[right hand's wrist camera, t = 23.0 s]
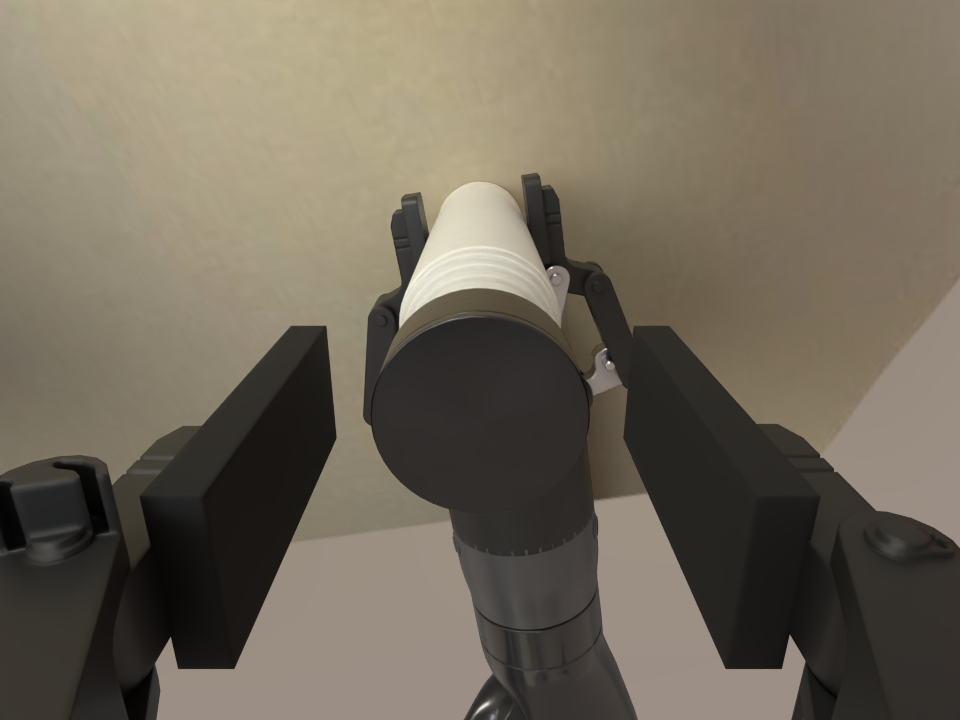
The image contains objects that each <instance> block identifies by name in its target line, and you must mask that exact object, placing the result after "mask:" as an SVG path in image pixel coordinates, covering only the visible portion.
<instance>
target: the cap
mask: <svg viewBox="0 0 960 720" xmlns="http://www.w3.org/2000/svg"><path fill="white" fill-rule="evenodd" d="M370 414H371V427H372V432H373V437H374V440H375V443H376V446H377V449H378V451H379V453H380V455H381V457H382V459H383V461H384V462H385V464H386V465H387V467H388V468H389V470H390V471H391V472H392V474H393V475H394V476H395V477H396V478H397V479H398V480H399V481H400V482H401V483H402V484H403V485H404V486H406V487H407V488H408V489H409V490H410V491H412V492H413V493H415V494H416V495H418V496H419V497H421V498H423V499H425V500H427V501H429V502H431V503H433V504H436V505H438V506H441V507H444V508H447V509H451V510H455V511H460V512H469V513H491V512H500V511H505V510H509V509H513V508H516V507H519V506H522V505H525V504H527V503H529V502H531V501H534V500H536V499H538V498H539V497H541V496H542V495H544V494H546V493H547V492H549V491H550V490H551V489H552V488H554V487H555V486H556V485H557V484H558V483H559V482H560V481H561V480H562V479H563V478H564V477H565V476H566V475H567V474H568V473H569V471H570V470H571V469H572V467H573V466H574V465H575V463H576V461H577V459H578V458H579V456H580V454H581V452H582V450H583V447H584V444H585V442H586V438H587V434H588V430H589V421H590V407H589V399H588V394H587V389H586V386H585V384H584V381H583V378H582V376H581V373H580V371H579V368H578V365H577V363H576V360H575V358H574V355H573V353H572V350H571V347H570V345H569V342H568V340H567V339H566V337H565V335H564V333H563V331H562V330H561V329H560V327H559V326H558V325H557V323H556V322H555V321H554V320H553V319H552V318H551V317H550V316H549V315H548V314H547V313H546V312H545V311H544V310H542V309H541V308H540V307H539V306H537V305H536V304H534V303H532V302H531V301H529V300H527V299H525V298H523V297H521V296H518V295H516V294H513V293H510V292H506V291H502V290H496V289H489V288H472V289H463V290H458V291H454V292H450V293H447V294H445V295H442V296H440V297H437V298H435V299H433V300H432V301H430V302H428V303H426V304H425V305H423V306H422V307H421V308H419V309H418V310H417V311H415V312H414V313H413V314H412V315H411V316H410V317H409V318H408V319H407V320H406V321H405V322H404V324H403V325H402V326H401V328H400V329H399V330H398V332H397V334H396V336H395V337H394V339H393V341H392V343H391V346H390V348H389V351H388V354H387V356H386V359H385V361H384V364H383V366H382V369H381V372H380V374H379V377H378V379H377V382H376V385H375V387H374V392H373V396H372V400H371V411H370Z"/></svg>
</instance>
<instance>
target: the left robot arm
mask: <svg viewBox="0 0 960 720" xmlns="http://www.w3.org/2000/svg"><path fill="white" fill-rule="evenodd" d="M521 179H522V187H523V195H524V203H525V211H526V219H527V226H528V230H529V232H530V235H531V237H532V240H533V242H534V244H535V247H536V249H537V251H538V254H539V256H540V259H541V261H542V263H543V266H544V268H545V271H546V273H547V275H548V278H549V280H550V282H551V285H552V287H553V290H554V292H555V294H556V297H557V300H558V303H559V307H560V314H561V325H562V314H563V309H564V305H565V300H566V296H567V293H572V294H577V295H582V296H584V297H585V299H586V302H587V304H588V307H589V309H590V311H591V314H592V316H593V319H594V321H595V324H596V326H597V329H598V331H599V334H600V336H601V339H602V341H603V342H602V343H600V344H598V345H596V346H595V347H594V349H593V351H592V360H593V363H592V367H591V368H590V370H589V371H588V372H586V373H583V372H582V371H581V370H580V369H579V371H580V373H581V376H582V378H583V381H584V384H585V386H586V389H587V394H588V399H589V407H591V405H592V401H593V396H596V395H598V394H601V393H603V392H606V391H608V390H611V389H613V388H616V387H618V386H621V385H623V386H624V387H625V388H627V389H628V383H629V372H630V361H631V350H632V339H633V338H632V335H631V332H630V330H629V327H628V325H627V322H626V319H625V317H624V314H623V312H622V309H621V306H620V304H619V301H618V299H617V296H616V293H615V291H614V288H613V286H612V283H611V281H610V279H609V278H608V276H607V275H606V274H605V273H603V270H602V269H601V267H600V266H599V265H598V264H597V263H595V262H585V263H582V262H577V261H573V260H570V259H568V258H567V257H566V256H565V251H564V242H563V232H562V224H561V214H560V205H559V199H558V197H557V195H556V193H555V191H554V189H553V188H552V187H551V186H550V185H545V186H541V180H540V176H539V175H538V174H537V173H533V174H527V175H521ZM401 204H402V209H399V210H396V211H395V212H394V214H393V216H392V222H391V231H392V236H393V240H394V245H395V249H396V255H397V260H398V265H399V269H400V274H401V279H402V285H401V286H400V287H399V288H397V289H395V290H394V291H392V292H390V293H387V294H383V295H381V296H380V297H379V298H378V300H377V301H376V303H375V305H374V307H373V308H372V310H371V312H370V314H369V316H368V330H367V350H366V369H365V389H364V409H363V417H364V420H365V421H366V422H367V423H368V424H369V425H371V414H370V411H371V400H372V396H373V392H374V387H375V385H376V382H377V379H378V377H379V374H380V372H381V369H382V366H383V364H384V361H385V359H386V356H387V354H388V351H389V348H390V346H391V343H392V341H393V339H394V337H395V336H396V334H397V332H398V330H399V315H400V309H401V304H402V301H403V298H404V295H405V292H406V290H407V288H408V285H409V283H410V280H411V278H412V276H413V273H414V271H415V269H416V266H417V264H418V261H419V259H420V257H421V254H422V252H423V249H424V247H425V245H426V242H427V240H428V237H429V232H428V227H427V222H426V216H425V211H424V206H423V200H422V196H421V193H420V192H419V193H413V194H407V195H404V196H403V197H402V199H401ZM449 512H450V517H451V522H452V526H453V531H454V532H453V542H454V546H455V549H456V552H457V553H458V555H459V560H460V564H461V568H462V571H463V574H464V577H465V579H466V582H467V584H468V587H469V589H470V592H471V596H472V601H473V606H474V611H475V616H476V621H477V625H478V630H479V635H480V640H481V644H482V648H483V652H484V655H485V658H486V660H487V662H488V664H489V666H490V668H491V670H492V672H493V674H492V675H491V676H490V678H489V679H488V680H487V681H486V683H485V684H484V685H483V687H482V689H481V690H480V692H479V693H478V695H477V697H476V699H475V700H474V702H473V704H472V706H471V708H470V709H469V711H468V713H467V715H466V717H465V719H464V720H638V719H637V716H636V713H635V710H634V707H633V704H632V702H631V699H630V696H629V694H628V691H627V689H626V686H625V684H624V681H623V679H622V676H621V674H620V671H619V668H618V666H617V663H616V661H615V659H614V657H613V655H612V653H611V651H610V649H609V647H608V645H607V642H606V640H605V638H604V635H603V631H602V618H601V608H600V599H599V590H598V581H597V563H598V539H597V535H598V519H597V516H596V514H595V511H594V501H593V492H592V483H591V474H590V465H589V456H588V446H587V438H586V442H585V444H584V447H583V450H582V452H581V454H580V456H579V458H578V459H577V461H576V463H575V465H574V466H573V467H572V469H571V470H570V471H569V473H568V474H567V475H566V476H565V477H564V478H563V479H562V480H561V481H560V482H559V483H558V484H557V485H556V486H555V487H554V488H552V489H551V490H550V491H549V492H547V493H546V494H544V495H542V496H541V497H539V498H538V499H536V500H534V501H531V502H529V503H527V504H525V505H522V506H519V507H516V508H513V509H509V510H505V511H500V512H491V513H469V512H460V511H455V510H451V509H449Z"/></svg>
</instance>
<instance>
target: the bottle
mask: <svg viewBox="0 0 960 720" xmlns="http://www.w3.org/2000/svg"><path fill="white" fill-rule="evenodd" d="M472 288H489V289H496V290H502V291H506V292H510V293H513V294H516V295H518V296H521V297H523V298H525V299H527V300H529V301H531V302H532V303H534V304H536V305H537V306H539V307H540V308H541V309H542V310H544V311H545V312H546V313H547V314H548V315H549V316H550V317H551V318H552V319H553V320H554V321H555V322H556V323H557V325H558V326H559V327H560V329H561V314H560V307H559V303H558V300H557V297H556V294H555V292H554V290H553V287H552V285H551V282H550V280H549V278H548V275H547V273H546V271H545V268H544V266H543V263H542V261H541V259H540V256H539V254H538V251H537V249H536V247H535V244H534V242H533V240H532V237H531V235H530V232H529V230H528V228H527V225H526V223H525V220H524V218H523V216H522V213H521V211H520V209H519V206H518V204H517V203H516V201H515V199H514V198H513V197H512V196H511V195H510V194H509V193H508V192H507V191H506V190H504V189H503V188H501V187H500V186H498V185H495V184H492V183H488V182H472V183H468V184H465V185H463V186H461V187H459V188H457V189H456V190H454V191H453V192H452V193H451V194H450V195H449V196H448V197H447V198H446V200H445V201H444V203H443V205H442V207H441V209H440V211H439V214H438V216H437V218H436V221H435V223H434V226H433V228H432V230H431V233H430V235H429V237H428V240H427V242H426V245H425V247H424V249H423V252H422V254H421V257H420V259H419V261H418V264H417V266H416V269H415V271H414V273H413V276H412V278H411V280H410V283H409V285H408V288H407V290H406V292H405V295H404V298H403V301H402V304H401V309H400V315H399V329H400V328H401V326H402V325H403V324H404V322H405V321H406V320H407V319H408V318H409V317H410V316H411V315H412V314H413V313H414V312H415V311H417V310H418V309H419V308H421V307H422V306H423V305H425V304H426V303H428V302H430V301H432V300H433V299H435V298H437V297H440V296H442V295H445V294H447V293H450V292H454V291H458V290H463V289H472Z"/></svg>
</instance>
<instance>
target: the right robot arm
mask: <svg viewBox="0 0 960 720" xmlns="http://www.w3.org/2000/svg"><path fill="white" fill-rule="evenodd" d="M335 440H336V427H335V416H334V405H333V394H332V383H331V372H330V361H329V350H328V339H327V329H326V326H291V327H290V328H289V329H288V330H287V331H286V332H285V333H284V335H283V336H282V337H281V338H280V339H279V340H278V341H277V342H276V343H275V345H274V346H273V347H272V348H271V349H270V350H269V351H268V352H267V354H266V355H265V356H264V357H263V358H262V359H261V360H260V361H259V363H258V364H257V365H256V366H255V367H254V368H253V369H252V370H251V372H250V373H249V374H248V375H247V376H246V377H245V378H244V379H243V380H242V382H241V383H240V384H239V385H238V386H237V387H236V388H235V389H234V391H233V392H232V393H231V394H230V395H229V396H228V397H227V398H226V400H225V401H224V402H223V403H222V404H221V405H220V406H219V407H218V408H217V410H216V411H215V412H214V413H213V414H212V415H211V416H210V417H209V419H208V420H207V421H206V422H205V423H204V424H203V425H202V426H182V427H180V428H179V429H177V430H175V431H173V432H171V433H170V434H168V435H166V436H164V437H162V438H160V439H159V440H157V441H156V442H155V443H154V444H153V445H152V446H151V447H150V448H149V449H148V450H147V451H146V452H145V453H144V454H143V455H142V456H141V457H140V458H141V459H140V460H137V461H136V462H135V463H134V464H133V465H132V466H131V467H130V468H129V469H128V470H127V474H123V475H122V476H121V477H120V478H119V479H118V480H117V481H116V482H115V483H114V484H113V485H112V484H111V480H110V476H109V472H108V468H107V464H106V463H104V462H103V461H101V460H100V459H98V458H95V457H88V456H82V455H75V456H60V457H54V458H49V459H45V460H40V461H36V462H32V463H29V464H26V465H24V466H21V467H18V468H15V469H13V470H10V471H8V472H6V473H4V474H2V475H0V720H156V718H157V711H158V704H159V696H160V686H159V679H158V674H157V670H156V666H155V662H156V660H157V659H158V657H159V655H160V654H161V652H162V650H163V649H164V647H165V645H166V644H167V642H168V640H169V638H170V637H171V639H172V644H173V648H174V652H175V657H176V661H177V666H178V669H234V668H235V666H236V664H237V662H238V659H239V657H240V655H241V653H242V650H243V648H244V646H245V643H246V641H247V639H248V637H249V634H250V632H251V630H252V628H253V626H254V623H255V621H256V619H257V616H258V614H259V612H260V610H261V607H262V605H263V603H264V601H265V598H266V596H267V594H268V592H269V589H270V587H271V585H272V583H273V580H274V578H275V576H276V574H277V571H278V569H279V567H280V565H281V562H282V560H283V558H284V556H285V553H286V551H287V549H288V547H289V544H290V542H291V540H292V538H293V535H294V533H295V531H296V528H297V526H298V524H299V522H300V519H301V517H302V515H303V513H304V510H305V508H306V506H307V504H308V501H309V499H310V497H311V495H312V492H313V490H314V488H315V486H316V483H317V481H318V479H319V477H320V474H321V472H322V470H323V468H324V465H325V463H326V461H327V459H328V456H329V454H330V452H331V449H332V447H333V445H334V443H335ZM624 440H625V443H626V445H627V447H628V449H629V452H630V454H631V456H632V459H633V461H634V463H635V465H636V468H637V470H638V472H639V474H640V477H641V479H642V481H643V483H644V486H645V488H646V490H647V492H648V495H649V497H650V499H651V501H652V504H653V506H654V508H655V510H656V513H657V515H658V517H659V519H660V522H661V524H662V526H663V528H664V531H665V533H666V535H667V537H668V540H669V542H670V544H671V547H672V549H673V551H674V553H675V555H676V558H677V560H678V562H679V565H680V567H681V569H682V571H683V574H684V576H685V578H686V580H687V583H688V585H689V587H690V589H691V592H692V594H693V596H694V598H695V601H696V603H697V605H698V607H699V610H700V612H701V614H702V616H703V619H704V621H705V623H706V626H707V628H708V630H709V632H710V635H711V637H712V639H713V641H714V644H715V646H716V648H717V650H718V653H719V655H720V657H721V659H722V662H723V664H724V666H725V668H726V669H782V666H783V661H784V657H785V652H786V648H787V644H788V639H789V635H791V637H792V639H793V640H794V642H795V644H796V645H797V647H798V649H799V650H800V652H801V654H802V655H803V657H804V659H805V660H806V662H805V666H804V670H803V674H802V678H801V683H800V687H799V691H798V695H797V699H796V703H795V707H794V711H793V715H792V720H960V548H959V547H958V546H957V545H956V543H955V542H954V541H953V540H952V539H950V538H949V537H947V536H945V535H944V534H942V533H941V532H939V531H938V530H936V529H935V528H933V527H931V526H929V525H926V524H924V523H922V522H919V521H917V520H915V519H912V518H909V517H905V516H901V515H897V514H894V513H890V512H882V511H876V510H875V509H874V508H873V507H872V506H871V505H870V504H869V503H868V502H867V501H866V500H865V499H864V498H863V497H862V496H861V495H860V494H859V493H858V492H857V491H856V490H855V489H854V488H853V487H852V486H851V485H850V484H849V483H848V482H847V481H846V480H845V479H844V478H843V477H842V476H841V475H840V474H839V473H838V472H834V468H833V467H832V466H831V465H830V464H829V463H828V462H827V461H826V460H825V459H824V458H820V454H819V453H818V452H817V451H816V450H815V449H814V448H813V447H812V446H811V445H810V444H809V443H808V442H807V441H806V440H805V439H804V438H802V437H800V436H799V435H797V434H795V433H793V432H791V431H789V430H788V429H786V428H784V427H782V426H780V425H778V424H756V423H755V422H754V421H753V420H752V419H751V417H750V416H749V415H748V414H747V413H746V412H745V411H744V410H743V408H742V407H741V406H740V405H739V404H738V403H737V402H736V401H735V400H734V398H733V397H732V396H731V395H730V394H729V393H728V392H727V391H726V389H725V388H724V387H723V386H722V385H721V384H720V383H719V382H718V380H717V379H716V378H715V377H714V376H713V375H712V374H711V373H710V372H709V370H708V369H707V368H706V367H705V366H704V365H703V364H702V363H701V361H700V360H699V359H698V358H697V357H696V356H695V355H694V354H693V352H692V351H691V350H690V349H689V348H688V347H687V346H686V345H685V343H684V342H683V341H682V340H681V339H680V338H679V337H678V336H677V335H676V333H675V332H674V331H673V330H672V329H671V328H670V327H669V326H634V328H633V339H632V350H631V361H630V372H629V383H628V394H627V405H626V416H625V427H624Z"/></svg>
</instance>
